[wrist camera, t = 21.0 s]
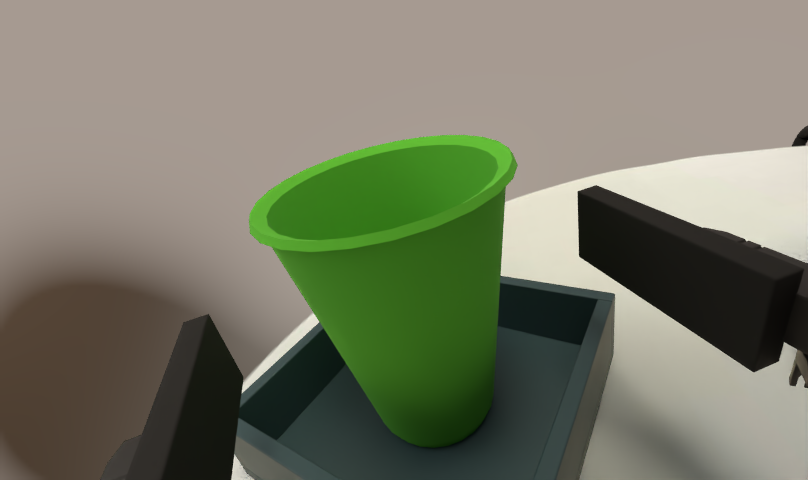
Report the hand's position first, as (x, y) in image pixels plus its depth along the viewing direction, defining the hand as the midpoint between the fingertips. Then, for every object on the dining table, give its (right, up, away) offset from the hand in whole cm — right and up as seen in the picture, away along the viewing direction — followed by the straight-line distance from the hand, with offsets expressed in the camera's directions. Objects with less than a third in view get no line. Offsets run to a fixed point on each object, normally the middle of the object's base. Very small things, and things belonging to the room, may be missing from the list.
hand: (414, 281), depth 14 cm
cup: (+1, -6, +5) cm, 8 cm away
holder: (+1, -7, +5) cm, 8 cm away
